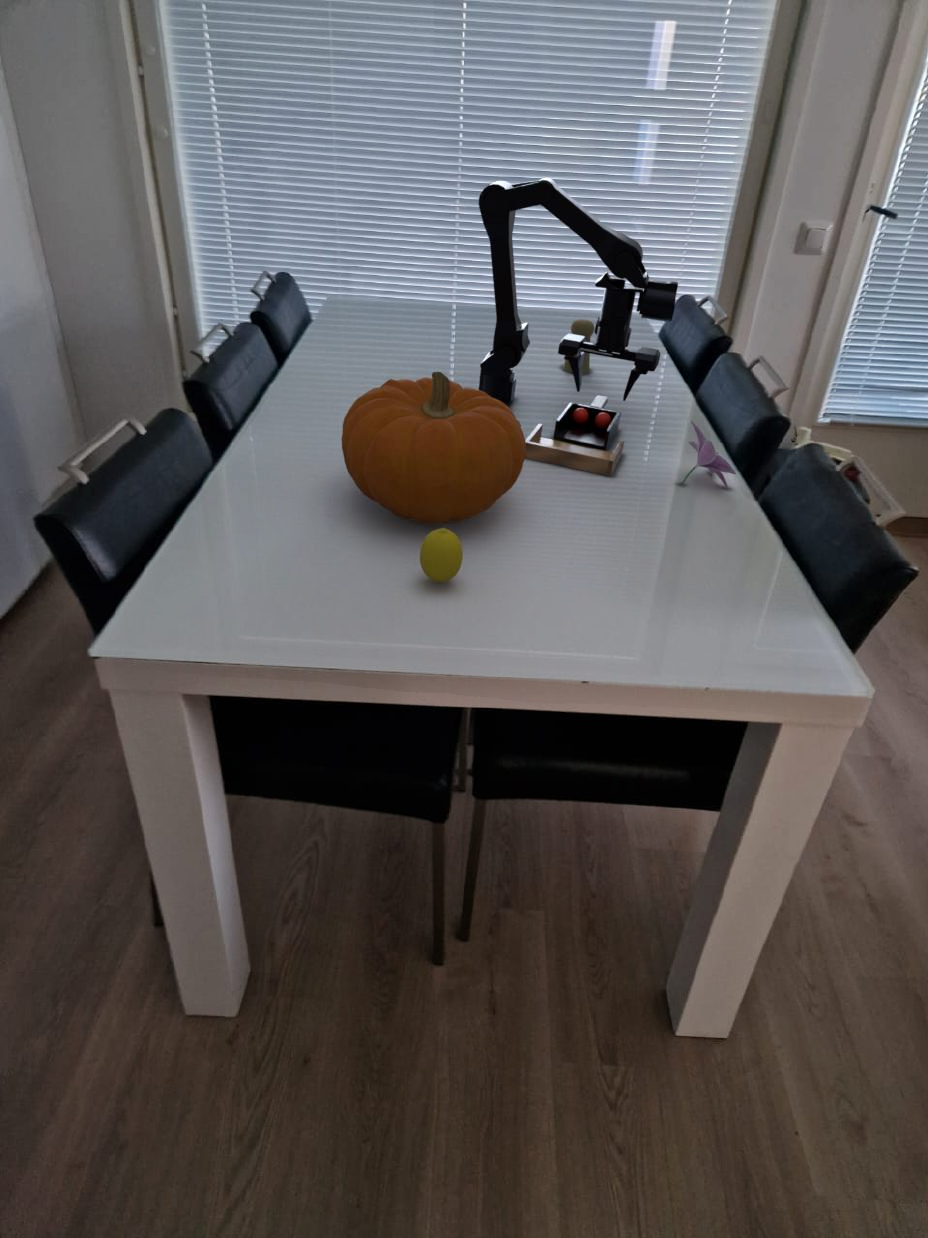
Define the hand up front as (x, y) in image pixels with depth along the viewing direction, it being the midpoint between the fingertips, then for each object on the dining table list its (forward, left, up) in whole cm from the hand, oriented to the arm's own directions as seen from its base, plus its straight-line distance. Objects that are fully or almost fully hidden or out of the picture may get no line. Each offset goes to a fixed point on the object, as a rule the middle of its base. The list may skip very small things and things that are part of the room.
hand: (601, 395), depth 163 cm
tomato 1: (-2, -8, -2) cm, 8 cm away
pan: (0, -8, -4) cm, 9 cm away
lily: (+23, -21, -4) cm, 32 cm away
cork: (-11, +28, -4) cm, 30 cm away
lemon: (-6, -72, -4) cm, 73 cm away
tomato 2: (+2, -8, -2) cm, 8 cm away
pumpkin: (-16, -50, -4) cm, 53 cm away
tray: (0, -22, -4) cm, 23 cm away
